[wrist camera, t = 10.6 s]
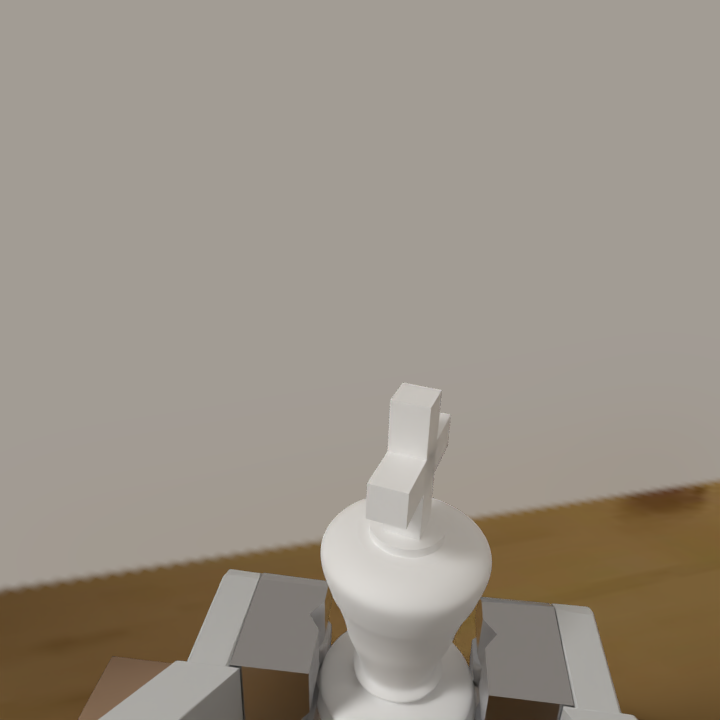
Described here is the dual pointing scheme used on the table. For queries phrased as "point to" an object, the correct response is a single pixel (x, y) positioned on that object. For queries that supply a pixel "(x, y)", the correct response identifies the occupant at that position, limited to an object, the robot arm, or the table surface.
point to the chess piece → (403, 582)
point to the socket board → (119, 684)
